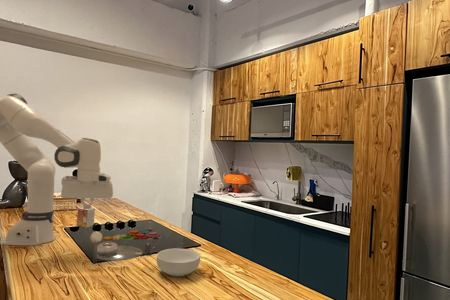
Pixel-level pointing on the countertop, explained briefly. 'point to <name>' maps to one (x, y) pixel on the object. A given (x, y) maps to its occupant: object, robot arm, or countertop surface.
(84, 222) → the small box
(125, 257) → the turntable
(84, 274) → the countertop surface
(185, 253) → the cereal bowl
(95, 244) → the lever with square base
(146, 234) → the gear puzzle
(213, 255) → the countertop surface
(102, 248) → the cover
